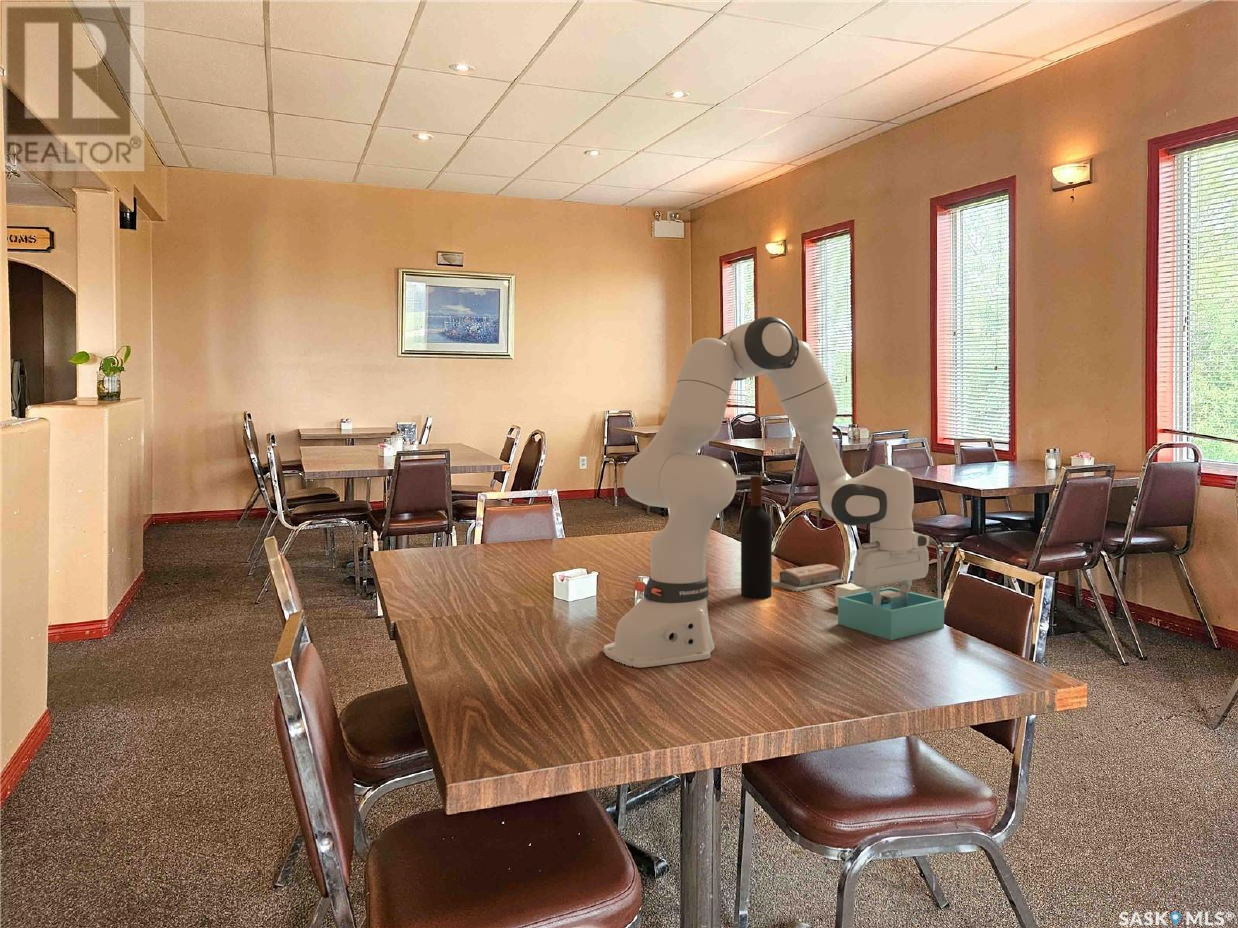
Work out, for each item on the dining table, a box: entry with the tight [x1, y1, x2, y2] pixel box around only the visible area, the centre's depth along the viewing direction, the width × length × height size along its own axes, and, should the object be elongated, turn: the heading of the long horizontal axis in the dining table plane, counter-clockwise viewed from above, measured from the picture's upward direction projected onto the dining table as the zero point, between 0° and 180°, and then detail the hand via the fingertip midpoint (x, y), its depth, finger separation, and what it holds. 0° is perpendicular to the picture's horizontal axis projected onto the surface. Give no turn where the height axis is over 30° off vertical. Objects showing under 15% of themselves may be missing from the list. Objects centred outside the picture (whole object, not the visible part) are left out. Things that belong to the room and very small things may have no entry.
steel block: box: [873, 590, 907, 610], centre depth 181 cm, size 5×5×6 cm
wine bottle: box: [740, 475, 773, 600], centre depth 209 cm, size 8×8×30 cm
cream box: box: [834, 582, 868, 608], centre depth 198 cm, size 5×5×5 cm
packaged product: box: [772, 563, 847, 593], centre depth 222 cm, size 18×5×10 cm
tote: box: [837, 586, 945, 641], centre depth 181 cm, size 17×15×6 cm
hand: (890, 602), depth 181 cm, fingers open, 6 cm apart
